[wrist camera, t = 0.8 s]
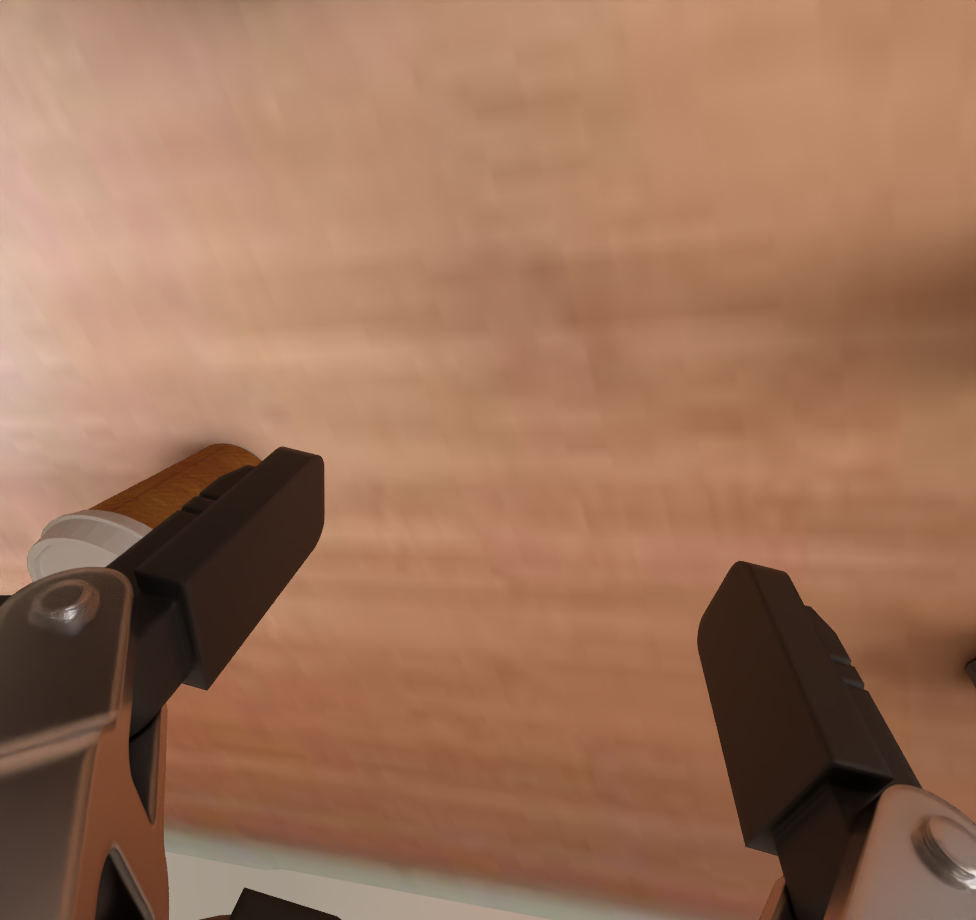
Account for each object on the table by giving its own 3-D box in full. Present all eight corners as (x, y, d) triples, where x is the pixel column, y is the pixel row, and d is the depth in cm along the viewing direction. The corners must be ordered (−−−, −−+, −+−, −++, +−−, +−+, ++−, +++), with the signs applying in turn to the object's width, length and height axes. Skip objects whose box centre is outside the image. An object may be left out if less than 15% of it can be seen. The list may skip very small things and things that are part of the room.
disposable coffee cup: (278, 548, 39) (172, 678, 29) (168, 490, 38) (18, 605, 28) (314, 467, 35) (201, 591, 24) (189, 398, 33) (16, 498, 23)
